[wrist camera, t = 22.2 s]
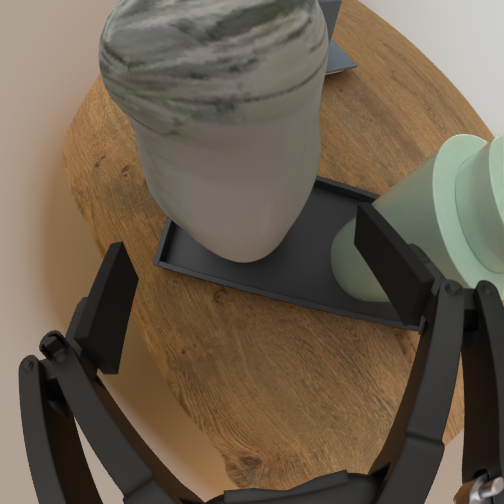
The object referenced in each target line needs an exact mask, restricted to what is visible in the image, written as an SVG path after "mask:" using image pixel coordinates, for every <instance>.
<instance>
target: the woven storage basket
mask: <svg viewBox="0 0 504 504" xmlns="http://www.w3.org/2000/svg"><path fill="white" fill-rule="evenodd" d="M317 1H318V3H319V5H320V8H321V10H322V12H323V15H324V18H325V22H326V25H327V31H328V41H329V49H328V62H327V68H326V73H325V75H328V74H332V73H337V72H342V71H343V70H346V69H351V68H356V67H357V65H356V64H355V63H354V62H353V61H352V60H351V58H350V57H349V56H348V55H347V54H346V53H345V52H344V51H343V50H342V49H341V48H340V47H339V46H338V45H337V44H336V43H335V42H334V41H333V40H332V39H331V37H332V33H333V30H334V26H335V23H336V19H337V16H338V12H339V9H340V5H341V2H342V1H341V0H317Z"/></svg>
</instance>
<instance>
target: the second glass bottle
mask: <svg viewBox="0 0 504 504" xmlns="http://www.w3.org/2000/svg"><path fill="white" fill-rule="evenodd" d="M371 204H372V205H373V207H374V208H375V209H376V210H377V211H378V212H379V213H380V214H381V215H382V216H383V217H384V218H385V219H386V220H387V222H388V223H389V224H390V225H391V226H392V227H393V228H394V229H395V230H396V231H397V233H398V234H399V235H400V236H401V237H402V238H403V239H404V241H405V242H406V243H407V244H411V243H413V244H415V245H417V246H418V247H420V248H421V249H422V250H423V251H424V252H425V253H426V255H427V256H428V257H429V258H430V259H431V262H433V263H434V264H435V265H436V267H437V268H438V269H439V270H440V271H441V273H442V274H443V275H444V276H445V278H446V279H451V280H455V281H457V282H459V283H460V284H461V285H462V286H463V288H476V285H477V283H478V282H479V281H480V280H487V281H490V282H491V283H493V284H494V285H495V286H496V287H497V289H498V291H499V294H500V297H501V300H502V301H504V135H500V136H497V137H495V138H494V139H493V140H491V141H490V142H489V143H488V142H487V141H485V140H483V139H481V138H479V137H476V136H473V135H468V134H460V135H456V136H453V137H451V138H449V139H448V140H447V141H445V142H444V143H443V144H442V145H441V146H440V147H438V148H437V149H436V150H435V151H434V152H433V153H431V154H430V155H429V156H428V157H427V158H426V159H424V160H423V161H422V162H421V163H420V164H418V165H417V166H416V167H415V168H414V169H413V170H411V171H410V172H409V173H408V174H407V175H405V176H404V177H403V178H402V179H401V180H399V181H398V182H397V183H396V184H394V185H393V186H392V187H391V188H390V189H388V190H387V191H386V192H385V193H384V194H382V195H381V196H380V197H379V198H377V199H376V200H375V201H374V202H372V203H371ZM355 226H356V216H355V217H354V218H352V219H351V220H350V221H349V222H347V223H346V224H345V225H344V226H343V227H342V228H341V229H340V230H339V231H338V233H337V234H336V236H335V238H334V241H333V243H332V247H331V267H332V271H333V274H334V277H335V279H336V280H337V282H338V284H339V285H340V287H341V288H342V289H343V290H344V291H345V292H346V293H347V294H348V295H350V296H351V297H353V298H355V299H357V300H360V301H364V302H389V303H391V302H390V300H389V299H388V297H387V295H386V294H385V292H384V290H383V289H382V287H381V286H380V284H379V282H378V281H377V279H376V278H375V276H374V274H373V273H372V271H371V270H370V268H369V267H368V265H367V263H366V262H365V260H364V259H363V257H362V256H361V254H360V253H359V251H358V250H357V248H356V247H355V245H354V236H355Z"/></svg>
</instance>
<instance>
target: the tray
mask: <svg viewBox="0 0 504 504" xmlns="http://www.w3.org/2000/svg"><path fill="white" fill-rule="evenodd" d="M379 197H380V195H377V194H374V193H371V192H368V191H365V190H362V189H359V188H356V187H353V186H350V185H347V184H344V183H341V182H337V181H334V180H331V179H327V178H324V177H321V176H316V179H315V182H314V185H313V188H312V190H311V193H310V195H309V197H308V199H307V201H306V203H305V205H304V207H303V209H302V210H301V212H300V214H299V216H298V217H297V219H296V220H295V222H294V223H293V225H292V226H291V228H290V229H289V230H288V232H287V234H286V235H285V237H284V238H283V240H282V241H281V243H280V244H279V245H278V246H277V247H276V248H275V249H274V250H273V251H272V252H271V253H270V254H268V255H267V256H265V257H263V258H261V259H259V260H256V261H253V262H235V261H231V260H228V259H225V258H222V257H220V256H218V255H216V254H215V253H213V252H211V251H210V250H208V249H207V248H205V247H204V246H202V245H201V244H200V243H198V242H197V241H196V240H195V239H194V238H193V237H192V236H191V235H190V234H189V233H188V232H187V231H185V230H184V229H182V228H181V227H180V226H179V225H177V224H176V223H175V222H174V221H172V220H171V219H170V218H169V217H167V220H166V223H165V226H164V229H163V232H162V236H161V239H160V242H159V245H158V249H157V252H156V255H155V259H154V262H153V265H155V266H158V267H161V268H164V269H168V270H171V271H175V272H178V273H181V274H185V275H188V276H192V277H195V278H199V279H202V280H206V281H209V282H213V283H216V284H220V285H223V286H227V287H231V288H234V289H238V290H242V291H245V292H249V293H253V294H257V295H261V296H264V297H268V298H272V299H276V300H280V301H284V302H288V303H292V304H296V305H300V306H304V307H308V308H312V309H316V310H321V311H325V312H329V313H333V314H338V315H342V316H346V317H351V318H355V319H360V320H364V321H369V322H373V323H378V324H383V325H387V326H392V327H397V328H402V329H407V330H412V331H418V332H420V330H421V328H422V326H423V324H424V320H425V318H424V316H423V315H422V314H421V316H420V319H419V321H418V322H417V323H414V324H411V325H408V326H404V324H403V323H402V321H401V319H400V317H399V316H398V314H397V312H396V310H395V309H394V307H393V305H392V304H391V303H389V302H364V301H360V300H357V299H355V298H353V297H351V296H350V295H348V294H347V293H346V292H345V291H344V290H343V289H342V288H341V287H340V285H339V284H338V282H337V280H336V279H335V277H334V274H333V271H332V267H331V247H332V243H333V241H334V238H335V236H336V234H337V233H338V231H339V230H340V229H341V228H342V227H343V226H344V225H345V224H346V223H347V222H349V221H350V220H351V219H352V218H354V217H355V216H356V215H357V204H358V203H366V202H370V203H372V202H374V201H375V200H376V199H377V198H379Z"/></svg>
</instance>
